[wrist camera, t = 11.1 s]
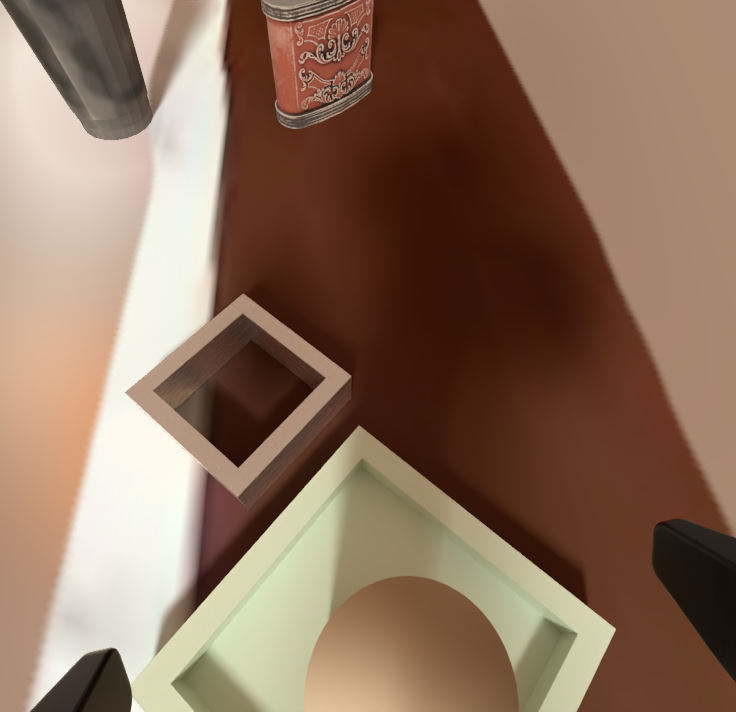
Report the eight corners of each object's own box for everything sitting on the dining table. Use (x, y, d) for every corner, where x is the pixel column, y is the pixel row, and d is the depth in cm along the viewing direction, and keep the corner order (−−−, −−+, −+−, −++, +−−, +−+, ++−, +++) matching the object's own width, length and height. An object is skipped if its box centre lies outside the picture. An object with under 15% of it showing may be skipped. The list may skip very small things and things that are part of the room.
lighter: (351, 69, 36) (353, -106, 28) (382, 90, 35) (394, -85, 26) (266, 111, 34) (238, -68, 25) (296, 136, 32) (279, -43, 24)
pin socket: (248, 510, 21) (237, 497, 18) (146, 414, 22) (125, 392, 20) (351, 399, 23) (351, 376, 21) (252, 321, 25) (243, 293, 23)
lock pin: (388, 753, 16) (437, 909, 8) (302, 665, 17) (257, 713, 9) (454, 647, 18) (558, 675, 9) (371, 573, 19) (393, 533, 10)
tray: (410, 988, 14) (418, 1040, 12) (147, 682, 18) (126, 689, 16) (591, 628, 19) (616, 629, 17) (358, 440, 22) (359, 425, 21)
